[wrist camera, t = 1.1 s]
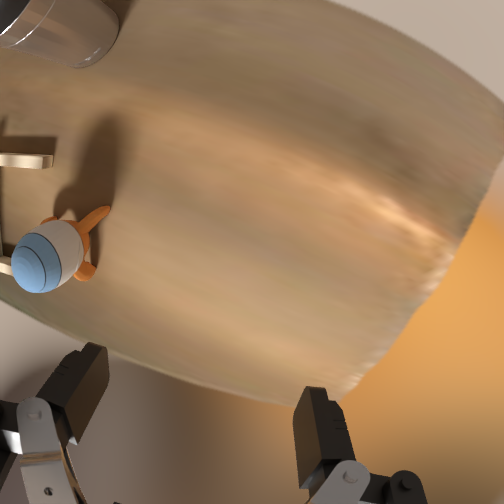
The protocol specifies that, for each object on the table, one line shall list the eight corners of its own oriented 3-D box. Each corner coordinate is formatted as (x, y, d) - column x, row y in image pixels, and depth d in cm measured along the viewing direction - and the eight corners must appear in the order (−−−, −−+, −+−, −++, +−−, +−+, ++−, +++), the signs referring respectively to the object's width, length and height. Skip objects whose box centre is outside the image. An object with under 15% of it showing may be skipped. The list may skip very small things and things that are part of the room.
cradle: (53, 155, 33) (30, 158, 28) (53, 279, 39) (35, 294, 34) (-6, 152, 32) (-27, 156, 27) (-2, 262, 38) (-20, 274, 33)
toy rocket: (49, 225, 37) (-20, 233, 22) (99, 178, 37) (37, 164, 22) (85, 285, 38) (24, 317, 24) (139, 241, 38) (89, 258, 23)
